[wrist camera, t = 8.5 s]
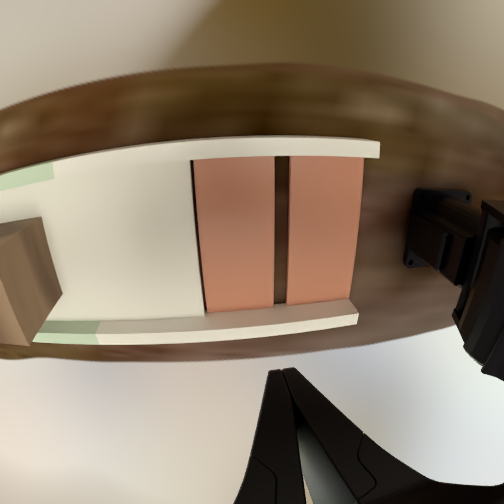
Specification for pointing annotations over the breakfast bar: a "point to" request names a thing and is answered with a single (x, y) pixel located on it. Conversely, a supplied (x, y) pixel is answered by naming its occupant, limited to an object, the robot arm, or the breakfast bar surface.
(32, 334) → the walnut block
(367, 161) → the breakfast bar surface
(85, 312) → the trap channel
